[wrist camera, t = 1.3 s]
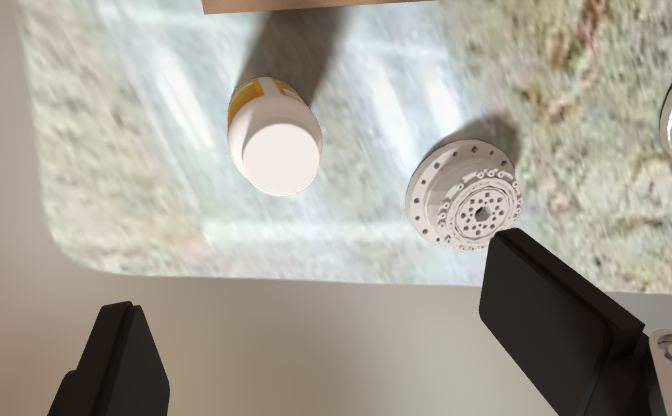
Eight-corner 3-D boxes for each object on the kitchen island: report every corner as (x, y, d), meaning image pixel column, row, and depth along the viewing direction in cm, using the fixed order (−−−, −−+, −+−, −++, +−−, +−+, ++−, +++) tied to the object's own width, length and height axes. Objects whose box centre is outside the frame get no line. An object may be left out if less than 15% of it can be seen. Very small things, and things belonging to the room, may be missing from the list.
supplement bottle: (231, 152, 29) (232, 213, 21) (223, 76, 27) (221, 110, 18) (303, 148, 30) (333, 204, 22) (303, 75, 28) (335, 106, 20)
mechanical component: (518, 136, 35) (412, 138, 32) (553, 153, 31) (436, 156, 29) (491, 235, 39) (397, 242, 37) (519, 260, 35) (416, 270, 33)
